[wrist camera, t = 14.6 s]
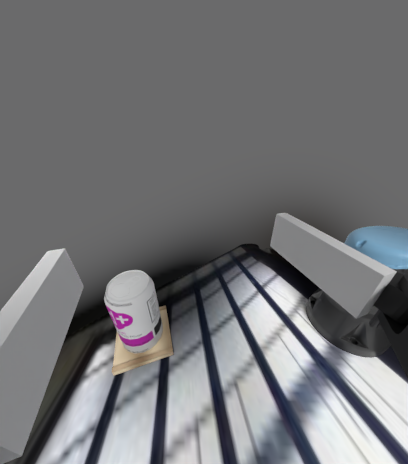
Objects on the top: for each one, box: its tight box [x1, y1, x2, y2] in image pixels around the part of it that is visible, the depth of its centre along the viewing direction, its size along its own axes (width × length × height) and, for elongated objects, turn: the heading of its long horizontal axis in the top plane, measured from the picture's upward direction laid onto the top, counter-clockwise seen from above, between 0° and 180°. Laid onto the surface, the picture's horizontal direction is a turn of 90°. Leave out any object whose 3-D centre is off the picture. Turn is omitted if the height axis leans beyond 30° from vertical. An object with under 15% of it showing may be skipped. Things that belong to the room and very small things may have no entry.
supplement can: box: [104, 270, 163, 354], centre depth 34 cm, size 8×8×15 cm
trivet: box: [112, 306, 174, 375], centre depth 38 cm, size 11×11×1 cm
